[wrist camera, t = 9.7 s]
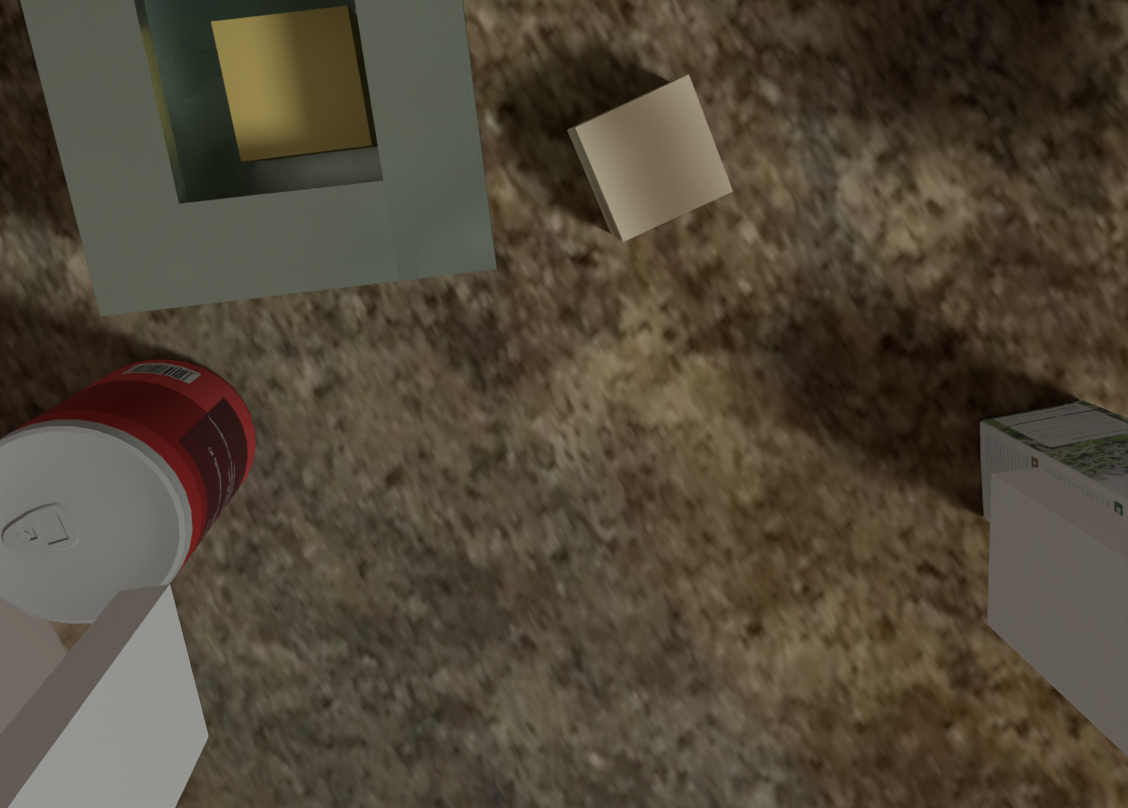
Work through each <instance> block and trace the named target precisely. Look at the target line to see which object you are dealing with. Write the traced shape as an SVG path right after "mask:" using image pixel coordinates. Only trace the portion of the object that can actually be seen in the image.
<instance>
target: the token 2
mask: <svg viewBox="0 0 1128 808" xmlns="http://www.w3.org/2000/svg"><path fill="white" fill-rule="evenodd" d="M567 131H568V134H569V136H570V138H571V141H572V143H573V145H574V148H575V150H576V153H577V155H578V157H579V160H580V162H581V164H582V167H583V169H584V171H585V174H586V176H587V179H588V181H589V183H590V186H591V188H592V190H593V193H594V195H595V197H596V200H597V202H598V205H599V207H600V209H601V212H602V214H603V216H604V219H605V221H606V223H607V226H608V228H609V231H610V233H611V234H612V235H614V236H615V237H617V238H618V239H620V240H622V241H623V242H624V241H626V240H628V239H630V238H632V237H635V236H637V235H639V234H641V233H643V232H645V231H648V230H650V229H652V228H654V227H656V226H659V225H661V224H663V223H665V222H667V221H669V220H672V219H674V218H676V217H678V216H680V215H682V214H685V213H687V212H689V211H691V210H693V209H696V208H698V207H700V206H702V205H704V204H706V203H709V202H711V201H713V200H715V199H717V198H719V197H722V196H724V195H726V194H728V193H730V192H733V191H732V188H731V185H730V183H729V180H728V177H727V175H726V172H725V169H724V167H723V164H722V161H721V159H720V156H719V153H718V151H717V148H716V145H715V143H714V140H713V138H712V135H711V132H710V130H709V127H708V124H707V122H706V119H705V116H704V114H703V111H702V108H701V106H700V103H699V100H698V98H697V95H696V92H695V90H694V87H693V84H692V82H691V79H690V76H689V75H687V76H684V77H681V78H679V79H676V80H674V81H671V82H669V83H666V84H664V85H662V86H660V87H658V88H656V89H654V90H651V91H649V92H647V93H645V94H643V95H641V96H638V97H636V98H634V99H632V100H630V101H628V102H626V103H623V104H621V105H619V106H617V107H615V108H613V109H611V110H608V111H606V112H604V113H602V114H600V115H598V116H595V117H593V118H591V119H589V120H587V121H585V122H583V123H580V124H578V125H576V126H574V127H572V128H570V129H568V130H567Z"/></svg>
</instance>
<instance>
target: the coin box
mask: <svg viewBox="0 0 1128 808" xmlns="http://www.w3.org/2000/svg"><path fill="white" fill-rule="evenodd" d="M20 2H21V6H22V10H23V14H24V18H25V22H26V25H27V29H28V33H29V37H30V41H31V45H32V49H33V53H34V57H35V61H36V65H37V69H38V72H39V76H40V80H41V84H42V88H43V92H44V96H45V100H46V104H47V108H48V112H49V116H50V119H51V123H52V127H53V131H54V135H55V139H56V143H57V147H58V151H59V155H60V159H61V163H62V167H63V170H64V174H65V178H66V182H67V186H68V190H69V194H70V198H71V202H72V206H73V210H74V214H75V217H76V221H77V225H78V229H79V233H80V237H81V241H82V245H83V249H84V253H85V257H86V261H87V265H88V268H89V272H90V276H91V280H92V284H93V288H94V292H95V296H96V300H97V304H98V308H99V312H100V315H101V316H108V315H117V314H125V313H133V312H142V311H150V310H158V309H167V308H175V307H184V306H192V305H200V304H209V303H217V302H226V301H234V300H242V299H251V298H259V297H267V296H276V295H284V294H293V293H301V292H309V291H318V290H326V289H335V288H343V287H351V286H360V285H368V284H377V283H385V282H393V281H402V280H410V279H418V278H427V277H435V276H444V275H452V274H460V273H469V272H477V271H486V270H494V269H497V268H496V259H495V249H494V241H493V233H492V225H491V217H490V209H489V202H488V194H487V186H486V178H485V170H484V163H483V155H482V147H481V139H480V131H479V124H478V116H477V108H476V100H475V92H474V85H473V77H472V69H471V61H470V54H469V46H468V38H467V30H466V22H465V15H464V7H463V0H20ZM340 6H348V7H349V8H350V9H351V10H352V11H353V12H354V13H355V14H356V15H357V18H358V24H359V31H360V37H361V43H362V50H363V56H364V62H365V68H366V75H367V81H368V87H369V93H370V100H371V106H372V112H373V119H374V125H375V131H376V137H377V144H378V146H377V147H370V148H362V149H354V150H346V151H338V152H330V153H322V154H314V155H306V156H298V157H290V158H282V159H274V160H266V161H245V162H241V159H240V154H239V149H238V145H237V140H236V135H235V131H234V126H233V121H232V117H231V112H230V108H229V103H228V98H227V94H226V89H225V84H224V80H223V75H222V70H221V66H220V61H219V56H218V52H217V47H216V42H215V38H214V33H213V28H212V24H211V22H212V21H221V20H229V19H238V18H246V17H255V16H263V15H272V14H280V13H289V12H297V11H306V10H314V9H323V8H331V7H340Z"/></svg>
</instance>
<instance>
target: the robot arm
mask: <svg viewBox="0 0 1128 808" xmlns="http://www.w3.org/2000/svg"><path fill="white" fill-rule="evenodd" d="M987 625H988V626H990V627H991V628H992V629H993V630H994V631H995V632H996V633H997V634H998V635H999V636H1000V637H1001V638H1002V639H1003V640H1004V641H1006V642H1007V643H1008V644H1009V645H1010V646H1011V647H1012V648H1013V649H1014V650H1015V651H1016V652H1017V653H1018V654H1019V655H1020V656H1021V657H1023V658H1024V659H1025V660H1026V661H1027V662H1028V663H1029V664H1030V665H1031V666H1032V667H1033V668H1034V669H1035V670H1036V671H1037V672H1038V673H1040V674H1041V675H1042V676H1043V677H1044V678H1045V679H1046V680H1047V681H1048V682H1049V683H1050V684H1051V685H1052V686H1053V687H1054V688H1055V689H1057V690H1058V691H1059V692H1060V693H1061V694H1062V695H1063V696H1064V697H1065V698H1066V699H1067V700H1068V701H1069V702H1070V703H1071V704H1072V705H1074V706H1075V707H1076V708H1077V709H1078V710H1079V711H1080V712H1081V713H1082V714H1083V715H1084V716H1085V717H1086V718H1087V719H1088V720H1089V721H1091V722H1092V723H1093V724H1094V725H1095V726H1096V727H1097V728H1098V729H1099V730H1100V731H1101V732H1102V733H1103V734H1104V735H1105V736H1106V737H1108V738H1109V739H1110V740H1111V741H1112V742H1113V743H1114V744H1115V745H1116V746H1117V747H1118V748H1119V749H1120V750H1121V751H1122V752H1123V753H1125V754H1126V755H1127V756H1128V519H1126V518H1125V517H1123V516H1121V515H1119V514H1118V513H1116V512H1114V511H1112V510H1111V509H1109V508H1107V507H1105V506H1104V505H1102V504H1100V503H1098V502H1097V501H1095V500H1093V499H1091V498H1090V497H1088V496H1086V495H1084V494H1083V493H1081V492H1079V491H1077V490H1076V489H1074V488H1072V487H1070V486H1069V485H1067V484H1065V483H1063V482H1062V481H1060V480H1058V479H1057V478H1055V477H1053V476H1051V475H1050V474H1048V473H1046V472H1044V471H1043V470H1041V469H1039V468H1029V469H1022V470H1014V471H1007V472H1000V473H992V478H991V514H990V551H989V587H988V623H987ZM207 739H208V732H207V729H206V725H205V721H204V717H203V713H202V709H201V705H200V701H199V697H198V693H197V689H196V685H195V681H194V677H193V673H192V670H191V666H190V662H189V658H188V654H187V650H186V646H185V642H184V638H183V634H182V630H181V626H180V622H179V618H178V614H177V611H176V607H175V603H174V599H173V595H172V591H171V587H170V584H168V585H160V586H153V587H145V588H138V589H130V590H123V591H119V592H118V593H117V594H116V596H115V597H114V598H113V599H112V600H111V602H110V603H109V604H108V605H107V606H106V608H105V609H104V610H103V611H102V612H101V614H100V615H99V616H98V617H97V619H96V620H95V621H94V622H93V623H92V625H91V626H90V627H89V628H88V629H87V631H86V632H85V633H84V634H83V635H82V637H81V638H80V639H79V640H78V641H77V643H76V644H75V645H74V646H73V647H72V649H71V650H70V651H69V652H68V653H67V655H66V656H65V657H64V658H63V660H62V661H61V662H60V663H59V665H58V666H57V667H56V668H55V669H54V670H53V672H52V673H51V674H50V675H49V677H48V678H47V679H46V680H45V681H44V683H43V684H42V685H41V686H40V687H39V688H38V690H37V691H36V692H35V693H34V694H33V696H32V697H31V698H30V699H29V701H28V702H27V703H26V704H25V705H24V707H23V708H22V709H21V710H20V711H19V713H18V714H17V715H16V716H15V717H14V719H13V720H12V721H11V722H10V723H9V725H8V726H7V727H6V728H5V729H4V731H3V732H2V733H1V734H0V808H175V807H176V804H177V802H178V800H179V798H180V796H181V794H182V792H183V790H184V787H185V785H186V783H187V781H188V779H189V777H190V775H191V773H192V770H193V768H194V766H195V764H196V762H197V760H198V758H199V756H200V753H201V751H202V749H203V747H204V745H205V743H206V741H207Z"/></svg>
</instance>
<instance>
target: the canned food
mask: <svg viewBox="0 0 1128 808" xmlns="http://www.w3.org/2000/svg"><path fill="white" fill-rule="evenodd" d="M255 448H256V445H255V430H254V426H253V422H252V419H251V415H250V412H249V410H248V408H247V406H246V404H245V402H244V400H243V399H242V398H241V396H240V395H239V394H238V393H237V391H236V390H235V389H234V388H233V387H232V386H231V385H230V384H229V383H228V382H226V381H225V380H224V379H223V378H222V377H220V376H218V375H217V374H215V373H213V372H212V371H210V370H208V369H206V368H203V367H200V366H198V365H195V364H192V363H187V362H181V361H176V360H170V359H152V360H146V361H141V362H135V363H132V364H130V365H127V366H125V367H122V368H119V369H117V370H116V371H114V372H112V373H110V374H109V375H107V376H105V377H104V378H102V379H100V380H98V381H97V382H95V383H93V384H92V385H90V386H88V387H86V388H85V389H83V390H81V391H80V392H78V393H76V394H74V395H73V396H71V397H69V398H68V399H66V400H64V401H62V402H61V403H59V404H57V405H55V406H54V407H52V408H50V409H49V410H47V411H45V412H43V413H42V414H40V415H38V416H37V417H35V418H33V419H31V420H30V421H28V422H26V423H25V424H23V425H22V426H20V427H18V428H17V429H15V430H14V431H12V432H11V433H9V434H8V435H6V436H4V437H3V438H1V439H0V600H2V601H3V602H5V603H6V604H8V605H10V606H12V607H14V608H16V609H18V610H20V611H22V612H24V613H26V614H29V615H32V616H36V617H39V618H42V619H45V620H48V621H56V622H63V623H70V624H71V623H93V622H94V621H95V620H96V619H97V617H98V616H99V615H100V614H101V612H102V611H103V610H104V609H105V608H106V606H107V605H108V604H109V603H110V602H111V600H112V599H113V598H114V597H115V596H116V594H117V593H118V592H119V591H123V590H130V589H138V588H145V587H153V586H160V585H168V584H169V583H170V582H171V581H172V580H173V578H174V577H175V576H176V574H177V573H178V572H179V571H180V570H181V568H182V567H183V566H184V564H185V563H186V561H187V560H188V559H189V557H190V556H191V554H192V553H193V552H194V550H195V549H196V547H197V546H198V545H199V543H200V542H201V540H202V539H203V538H204V536H205V535H206V533H207V532H208V531H209V529H210V528H211V526H212V525H213V524H214V522H215V521H216V519H217V518H218V517H219V515H220V514H221V512H222V511H223V510H224V508H225V507H226V505H227V504H228V503H229V501H230V500H231V498H232V497H233V495H234V494H235V493H236V491H237V490H238V488H239V487H240V486H241V484H242V483H243V481H244V480H245V478H246V477H247V475H248V473H249V470H250V468H251V466H252V463H253V459H254V453H255Z"/></svg>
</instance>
